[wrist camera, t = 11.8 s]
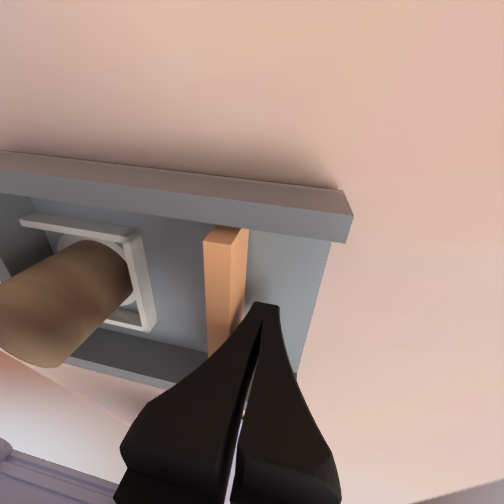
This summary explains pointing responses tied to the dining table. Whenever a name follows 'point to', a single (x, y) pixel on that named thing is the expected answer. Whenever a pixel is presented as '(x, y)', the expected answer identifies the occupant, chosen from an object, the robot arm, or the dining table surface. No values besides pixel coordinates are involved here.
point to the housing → (169, 251)
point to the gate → (224, 282)
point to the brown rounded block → (61, 302)
